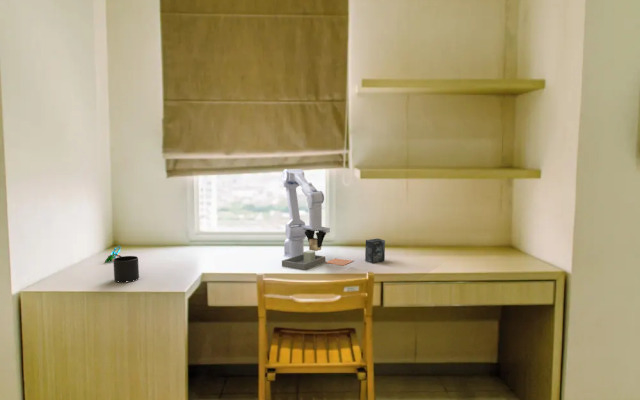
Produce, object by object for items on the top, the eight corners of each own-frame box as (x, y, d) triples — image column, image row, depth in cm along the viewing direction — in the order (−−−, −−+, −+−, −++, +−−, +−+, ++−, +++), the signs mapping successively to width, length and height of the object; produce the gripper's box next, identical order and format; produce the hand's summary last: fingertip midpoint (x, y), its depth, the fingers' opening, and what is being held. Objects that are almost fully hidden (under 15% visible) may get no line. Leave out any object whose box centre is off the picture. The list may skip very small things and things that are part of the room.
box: (372, 263, 216) (372, 241, 215) (364, 261, 221) (365, 239, 220) (385, 261, 221) (385, 239, 219) (377, 259, 225) (377, 238, 224)
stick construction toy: (113, 253, 230) (119, 242, 227) (125, 260, 231) (131, 249, 228) (100, 265, 219) (106, 253, 216) (113, 273, 220) (119, 261, 217)
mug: (141, 274, 198) (140, 254, 197) (137, 282, 187) (136, 260, 186) (118, 275, 196) (117, 255, 195) (112, 283, 184) (111, 261, 183)
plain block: (303, 262, 217) (303, 252, 217) (308, 260, 221) (308, 250, 220) (310, 263, 215) (310, 253, 215) (315, 261, 219) (315, 251, 218)
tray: (281, 267, 210) (281, 260, 210) (303, 259, 225) (303, 253, 225) (304, 270, 203) (304, 264, 203) (325, 262, 218) (325, 256, 218)
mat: (324, 263, 216) (324, 262, 216) (335, 259, 225) (335, 258, 225) (342, 266, 211) (342, 265, 211) (353, 262, 219) (353, 260, 219)
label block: (309, 250, 212) (309, 239, 211) (314, 248, 215) (314, 237, 215) (316, 251, 210) (316, 240, 209) (321, 249, 213) (321, 238, 212)
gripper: (297, 217, 212) (297, 246, 213) (323, 219, 204) (323, 249, 205) (306, 215, 218) (306, 243, 219) (332, 217, 210) (332, 247, 211)
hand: (315, 246), depth 212 cm, fingers closed on label block, 4 cm apart
